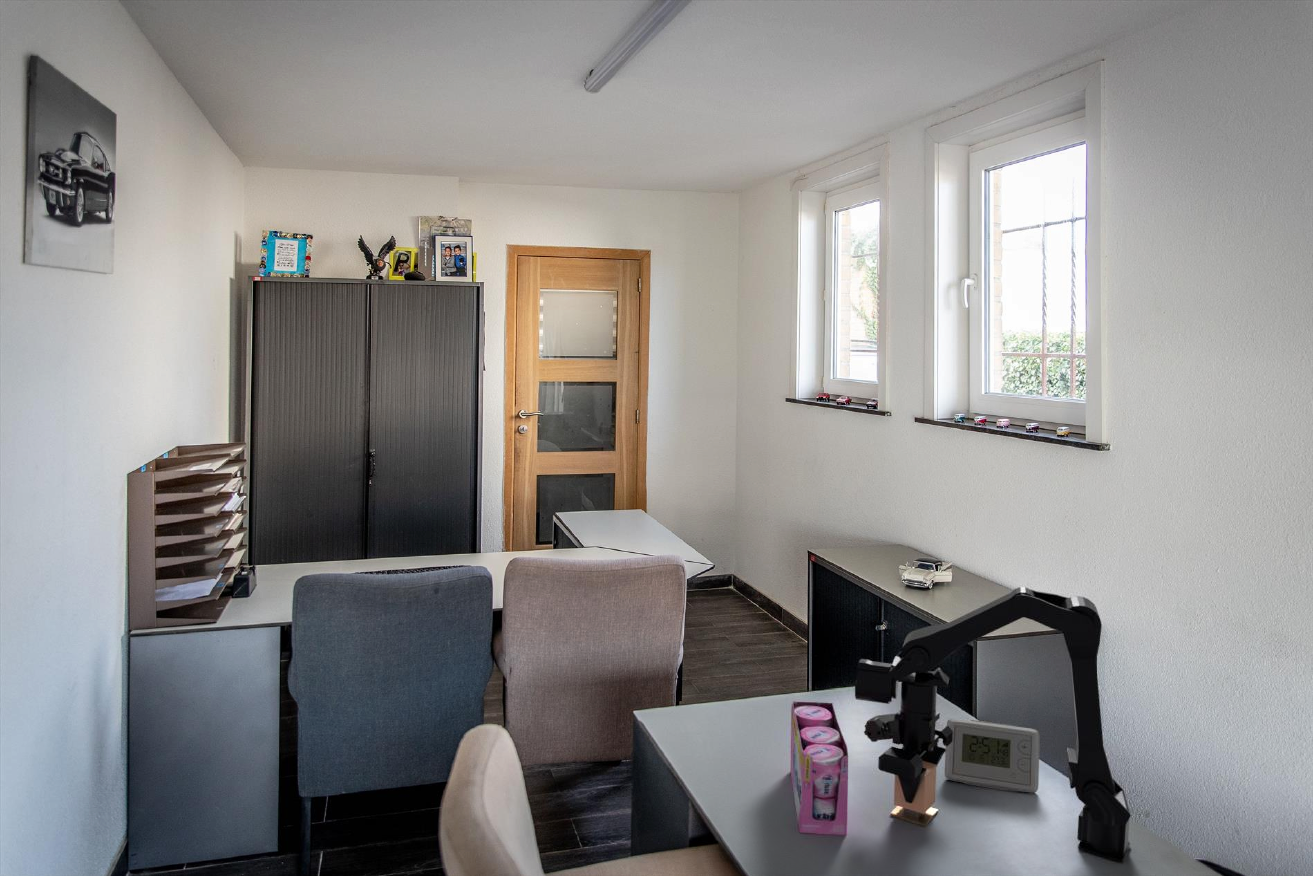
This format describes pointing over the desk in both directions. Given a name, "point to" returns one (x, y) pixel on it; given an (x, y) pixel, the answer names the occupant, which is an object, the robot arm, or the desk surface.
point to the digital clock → (993, 755)
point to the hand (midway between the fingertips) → (915, 796)
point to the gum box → (819, 769)
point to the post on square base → (914, 815)
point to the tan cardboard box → (919, 791)
